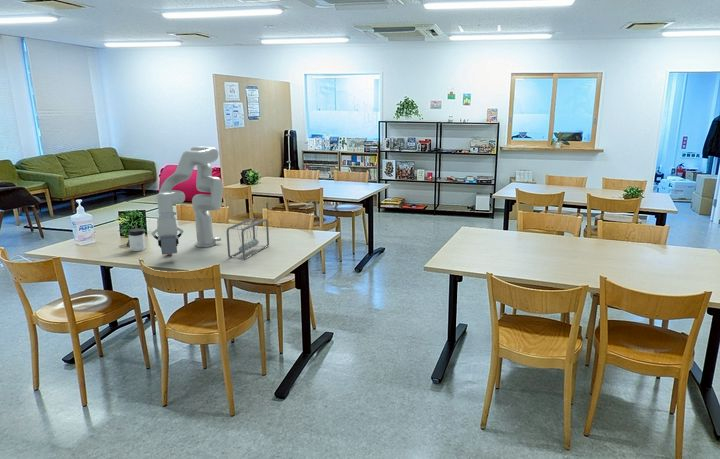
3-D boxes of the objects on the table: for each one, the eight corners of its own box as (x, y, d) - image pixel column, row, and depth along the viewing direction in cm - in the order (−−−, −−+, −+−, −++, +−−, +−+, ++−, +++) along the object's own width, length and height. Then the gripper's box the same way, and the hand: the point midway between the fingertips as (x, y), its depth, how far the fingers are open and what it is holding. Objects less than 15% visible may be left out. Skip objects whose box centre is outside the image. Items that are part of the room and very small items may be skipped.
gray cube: (176, 249, 280) (174, 234, 278) (177, 253, 274) (175, 237, 272) (161, 251, 277) (160, 235, 275) (162, 254, 270) (160, 239, 268)
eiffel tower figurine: (133, 242, 316) (130, 221, 313) (146, 243, 313) (143, 222, 309) (114, 248, 302) (112, 227, 299) (128, 250, 299) (125, 228, 296)
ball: (173, 253, 290) (172, 245, 289) (174, 255, 286) (173, 247, 285) (164, 254, 288) (163, 246, 287) (164, 256, 284) (164, 248, 283)
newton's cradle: (244, 260, 278) (242, 229, 273) (227, 258, 281) (225, 228, 276) (269, 246, 306) (268, 218, 301) (254, 244, 309) (252, 216, 304)
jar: (131, 252, 293) (129, 232, 290) (129, 248, 299) (126, 229, 296) (147, 249, 297) (145, 230, 294) (145, 246, 304) (143, 227, 301)
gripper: (182, 212, 278) (184, 243, 282) (148, 215, 271) (151, 246, 275) (183, 215, 271) (185, 246, 275) (149, 217, 264) (151, 249, 268)
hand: (168, 246), depth 275 cm, fingers closed on gray cube, 7 cm apart
